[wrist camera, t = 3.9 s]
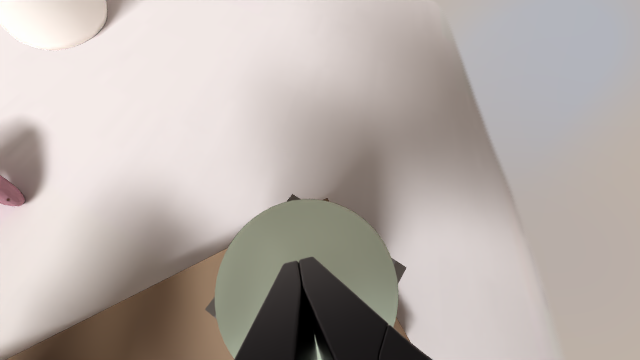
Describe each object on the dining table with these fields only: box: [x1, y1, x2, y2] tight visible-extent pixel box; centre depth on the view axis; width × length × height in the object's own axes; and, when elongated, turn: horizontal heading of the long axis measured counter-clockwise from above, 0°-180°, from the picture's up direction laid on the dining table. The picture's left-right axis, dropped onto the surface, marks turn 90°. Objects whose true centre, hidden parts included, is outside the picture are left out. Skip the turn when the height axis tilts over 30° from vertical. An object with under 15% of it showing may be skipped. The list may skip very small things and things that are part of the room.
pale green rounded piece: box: [215, 199, 398, 360], centre depth 14 cm, size 7×7×8 cm
